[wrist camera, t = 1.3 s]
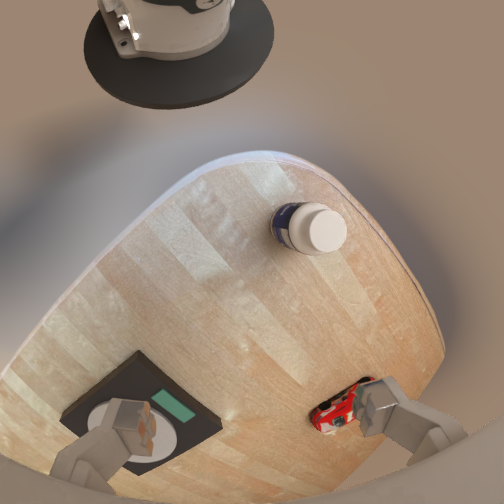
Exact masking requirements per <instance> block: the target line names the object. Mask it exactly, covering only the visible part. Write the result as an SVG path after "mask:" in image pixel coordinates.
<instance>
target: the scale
mask: <svg viewBox="0 0 504 504" xmlns="http://www.w3.org/2000/svg"><path fill="white" fill-rule="evenodd" d="M112 398H119V399H128V400H138V401H147V402H149V404H150V407H151V409H150V412H151V413H152V414H154V417H155V420H156V435H155V437H153V438H152V441H153V444H154V446H153V451H152V457H147V456H136V455H131V457H130V458H129V459H128V460H127V462H126V463H125V464H124V465H123V466H122V467H124V468H126V469H127V470H129V471H131V472H132V473H134V474H136V475H138V476H140V475H142V474H144V473H146V472H148V471H150V470H152V469H154V468H156V467H158V466H160V465H162V464H164V463H166V462H167V461H169V460H171V459H173V458H175V457H177V456H179V455H180V454H182V453H184V452H186V451H187V450H189V449H191V448H193V447H194V446H196V445H198V444H199V443H201V442H203V441H204V440H206V439H208V438H209V437H211V436H212V435H214V434H216V433H217V432H219V431H220V430H222V429H223V427H222V423H221V419H220V418H219V417H218V416H217V415H215V414H214V413H213V412H211V411H210V410H209V409H207V408H206V407H205V406H203V405H202V404H201V403H199V402H198V401H197V400H196V399H194V398H193V397H192V396H191V395H189V394H188V393H187V392H186V391H184V390H183V389H182V388H181V387H180V386H178V385H177V384H176V383H175V382H174V381H173V380H171V379H170V378H169V377H168V376H167V375H166V374H165V373H163V372H162V371H161V370H160V369H159V368H158V367H157V366H156V365H154V364H153V363H152V362H151V361H150V360H149V359H148V358H147V357H146V356H145V355H144V354H143V353H142V352H141V351H140V350H139V351H137V352H136V353H135V354H134V355H132V356H131V357H130V358H129V359H128V360H126V361H125V362H124V363H123V364H121V365H120V366H119V367H118V368H117V369H115V370H114V371H113V372H112V373H110V374H109V375H108V376H107V377H106V378H104V379H103V380H102V381H101V382H99V383H98V384H97V385H96V386H94V387H93V388H92V389H91V390H90V391H88V392H87V393H86V394H85V395H83V396H82V397H81V398H80V399H78V400H77V401H76V402H75V403H74V404H72V405H71V406H70V407H69V408H67V409H66V410H65V411H64V412H63V414H62V416H61V418H60V422H61V423H62V424H63V425H64V426H66V427H67V428H68V429H69V430H71V431H72V432H73V433H74V434H76V435H77V436H78V437H82V436H83V435H85V434H86V433H87V432H89V431H90V430H92V429H93V428H94V427H96V426H100V424H101V422H102V419H103V417H104V414H105V411H106V409H107V406H108V404H109V401H110V400H111V399H112Z"/></svg>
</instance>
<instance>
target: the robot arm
mask: <svg viewBox="0 0 504 504" xmlns="http://www.w3.org/2000/svg"><path fill="white" fill-rule="evenodd" d="M97 3H98V7H99V10H100V12H101V15H102V17H103V20H104V22H105V24H106V27H107V29H108V32H109V34H110V36H111V39H112V41H113V44H114V46H115V48H116V51H117V53H118V55H119V57H120V58H123V59H131V58H138V57H148V58H153V59H158V60H166V61H176V60H185V59H190V58H194V57H197V56H200V55H202V54H205V53H207V52H208V51H210V50H212V49H213V48H215V47H216V46H217V45H219V44H220V43H221V42H222V40H223V39H224V38H225V36H226V35H227V33H228V30H229V25H230V21H229V15H230V11H231V10H232V8H233V6H234V3H235V0H97ZM123 44H126V45H125V46H122V45H123ZM355 391H356V393H357V395H356V396H355V397H354V398H353V401H352V411H353V414H354V417H355V419H357V420H359V421H361V422H360V425H359V427H360V429H361V431H362V433H363V435H364V437H369V436H372V435H376V434H380V433H383V434H384V435H386V436H387V437H389V438H391V439H392V440H393V441H395V442H396V443H398V444H399V445H401V446H402V447H404V448H406V449H407V450H409V451H410V452H412V453H413V455H412V456H411V458H410V459H409V461H408V462H407V466H408V467H406V468H404V469H401V470H399V471H396V472H393V473H391V474H388V475H385V476H383V477H380V478H377V479H374V480H371V481H368V482H365V483H362V484H358V485H355V486H352V487H348V488H345V489H341V490H337V491H333V492H328V493H324V494H319V495H315V496H310V497H304V498H299V499H292V500H286V501H278V502H270V503H260V504H504V412H503V413H502V414H500V415H499V416H498V417H496V418H495V419H494V420H492V421H490V422H489V423H488V424H486V425H485V426H483V427H482V428H480V429H478V430H477V431H476V432H474V433H472V434H470V435H468V434H467V433H466V431H465V430H464V429H463V427H462V426H461V425H460V423H459V422H458V421H457V419H456V418H455V417H453V416H451V415H448V414H446V413H443V412H441V411H439V410H436V409H434V408H432V407H429V406H427V405H425V404H422V403H420V402H417V401H415V400H413V399H411V400H409V399H408V397H407V396H406V394H405V393H404V392H403V390H402V389H401V387H400V386H399V385H398V383H397V382H396V380H395V379H394V378H393V377H392V376H388V377H385V378H381V379H377V380H373V381H369V382H365V383H361V384H358V385H357V387H356V390H355ZM150 409H151V407H150V404H149V402H147V401H138V400H128V399H119V398H112V399H111V400H110V401H109V404H108V406H107V409H106V411H105V414H104V417H103V419H102V422H101V424H100V426H96V427H94V428H93V429H92V430H90V431H89V432H87V433H86V434H85V435H83V436H82V437H80V438H79V439H77V440H76V441H75V442H73V443H72V444H70V445H69V446H67V447H66V448H64V449H63V450H61V451H60V452H58V454H57V457H56V459H55V461H54V464H53V466H52V469H51V471H50V474H49V475H46V474H44V473H41V472H39V471H36V470H34V469H32V468H29V467H27V466H25V465H23V464H21V463H19V462H16V461H14V460H12V459H10V458H8V457H6V456H4V455H3V454H1V453H0V504H171V503H161V502H153V501H146V500H139V499H133V498H128V497H122V496H117V495H116V492H115V490H114V489H113V488H112V487H111V486H110V485H109V484H108V483H107V481H108V480H109V479H110V478H111V477H112V476H113V475H114V474H115V473H116V472H117V471H118V470H119V469H120V468H121V467H122V466H123V465H124V464H125V463H126V462H127V460H128V459H129V458H130V457H131V455H136V456H147V457H152V451H153V446H154V444H153V441H152V438H153V437H155V435H156V420H155V417H154V414H152V413H151V412H150Z"/></svg>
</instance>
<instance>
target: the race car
mask: <svg viewBox="0 0 504 504" xmlns="http://www.w3.org/2000/svg"><path fill="white" fill-rule="evenodd" d="M373 380H376V379H374V378H372V377H369V378H368V377H364V378H362V379H361V380H360V381H359V384H361V383H365V382H369V381H373ZM357 385H358V383H357V384H355V385H354V386H352V387H351V388H349V389H348V390H346V391H344V392H343V393H341V394H340V395H338V396H336V397H335V398H333V399H331V400H330V402H323V403H322V404H321V405H320V409H321V410H320V409H319V408H317V409H316V410H315V411H314V412H313V413H312V415H311V419H312V423H313V425H314V427H315V428H316V429H317V430H319V431H320V432H322V433H325V432H329V431H331V430H334V429H337V428H339V427H341V426H343V425H346V424H347V423H349V422H351V421H352V420H354V419H355V417H354V414H353V411H352V401H353V398H354V397H355V396H356V395H357V393H356V391H355V390H356V387H357Z"/></svg>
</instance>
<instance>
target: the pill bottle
mask: <svg viewBox="0 0 504 504" xmlns="http://www.w3.org/2000/svg"><path fill="white" fill-rule="evenodd" d="M271 232H272V235H273V237H274V238H275V240H276V241H277V242H278V243H279V244H281V245H283V246H285V247H287V248H290V249H292V250H295V251H298V252H300V253H303V254H306V255H310V256H317V255H321V254H324V253H331V252H334V251H336V250H338V249H339V248H340V247H341V246H342V245H343V243H344V241H345V239H346V235H347V227H346V223H345V221H344V219H343V217H342V216H341V215H340V214H339V213H338V212H336V211H333V210H331V209H330V208H329V207H327V206H326V205H324V204H321V203H316V202H306V203H304V202H303V203H288V204H285V205H283V206H281V207H279V208H278V209H277V210H276V211H275V213H274V214H273V216H272V219H271Z"/></svg>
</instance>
